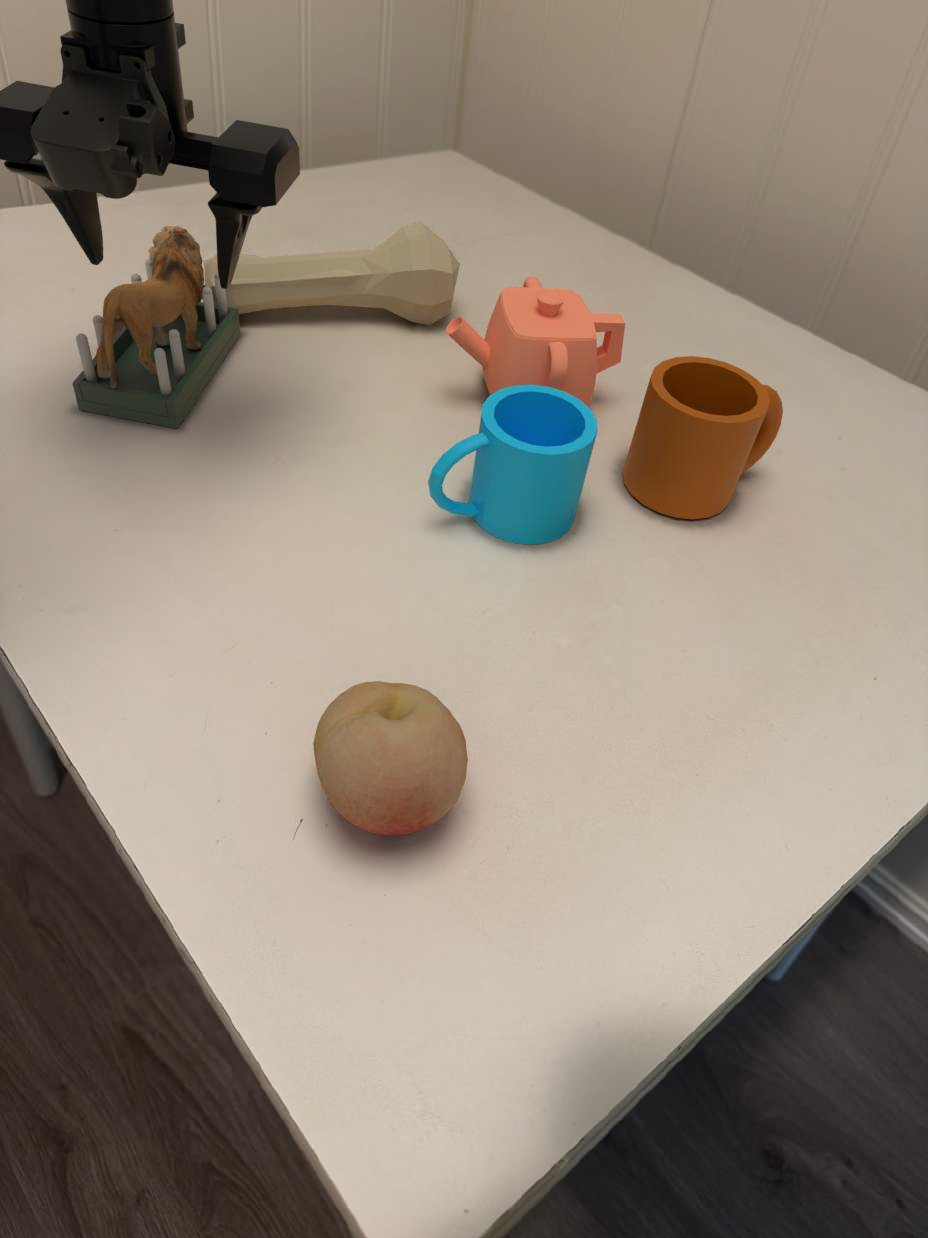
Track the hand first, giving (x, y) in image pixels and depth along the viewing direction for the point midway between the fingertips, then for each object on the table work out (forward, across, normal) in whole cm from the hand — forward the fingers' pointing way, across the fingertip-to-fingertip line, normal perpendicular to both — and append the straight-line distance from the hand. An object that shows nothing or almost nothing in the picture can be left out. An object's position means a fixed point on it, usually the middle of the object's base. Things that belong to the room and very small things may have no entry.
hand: (161, 274), depth 61 cm
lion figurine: (+11, -4, +6) cm, 13 cm away
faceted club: (+12, +6, +20) cm, 24 cm away
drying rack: (+12, -4, +6) cm, 14 cm away
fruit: (+12, +23, -30) cm, 40 cm away
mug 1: (+12, +26, -4) cm, 29 cm away
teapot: (+12, +26, +12) cm, 31 cm away
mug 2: (+12, +41, +4) cm, 43 cm away
